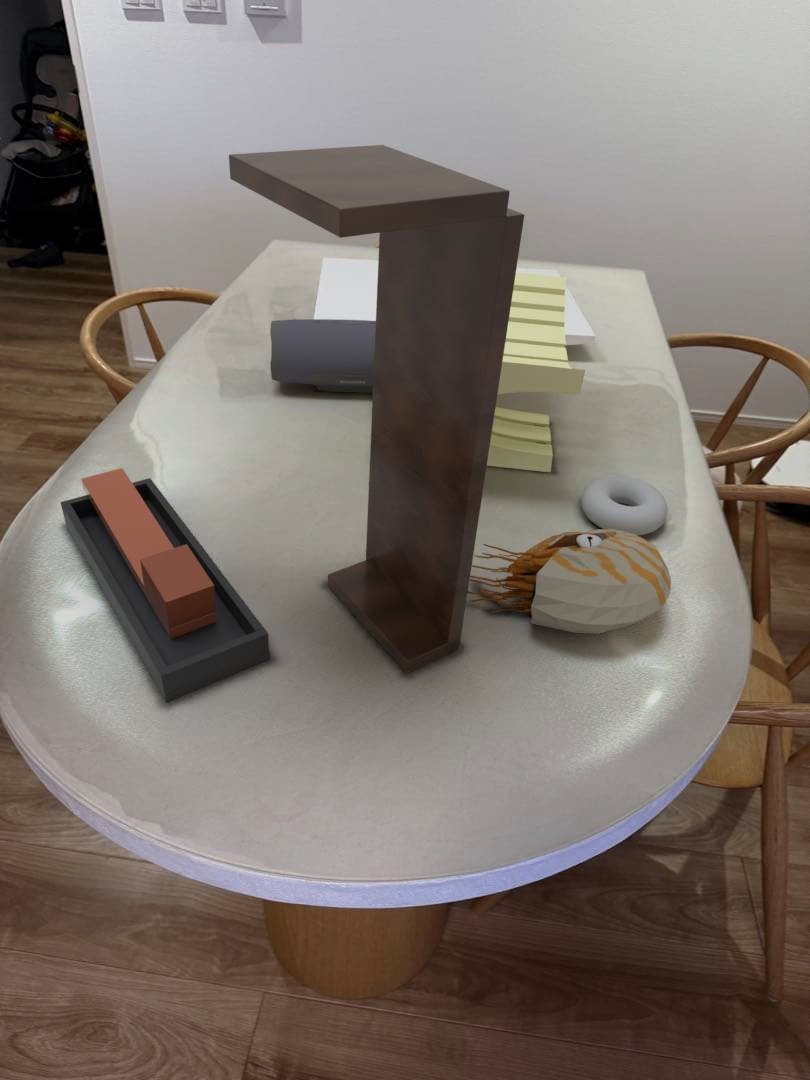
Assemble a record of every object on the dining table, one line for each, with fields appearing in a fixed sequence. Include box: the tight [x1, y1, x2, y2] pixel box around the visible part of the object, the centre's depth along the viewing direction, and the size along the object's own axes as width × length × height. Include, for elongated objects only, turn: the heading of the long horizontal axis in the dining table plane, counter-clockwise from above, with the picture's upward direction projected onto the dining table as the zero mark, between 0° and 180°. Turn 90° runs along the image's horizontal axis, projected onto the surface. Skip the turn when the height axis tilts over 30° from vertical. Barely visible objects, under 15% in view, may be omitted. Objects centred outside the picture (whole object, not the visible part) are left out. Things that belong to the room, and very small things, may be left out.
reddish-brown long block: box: [81, 467, 216, 639], centre depth 75 cm, size 24×4×5 cm, turn 35°
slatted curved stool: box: [487, 273, 586, 473], centre depth 97 cm, size 30×16×18 cm, turn 174°
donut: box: [580, 474, 669, 536], centre depth 89 cm, size 10×4×10 cm
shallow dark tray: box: [60, 477, 270, 703], centre depth 74 cm, size 29×10×3 cm, turn 35°
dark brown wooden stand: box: [228, 144, 525, 674], centre depth 60 cm, size 14×14×40 cm
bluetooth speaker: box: [269, 318, 376, 393], centre depth 110 cm, size 23×9×10 cm, turn 94°
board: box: [313, 257, 596, 346], centre depth 135 cm, size 45×32×5 cm
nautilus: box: [467, 528, 672, 635], centre depth 75 cm, size 8×22×15 cm
